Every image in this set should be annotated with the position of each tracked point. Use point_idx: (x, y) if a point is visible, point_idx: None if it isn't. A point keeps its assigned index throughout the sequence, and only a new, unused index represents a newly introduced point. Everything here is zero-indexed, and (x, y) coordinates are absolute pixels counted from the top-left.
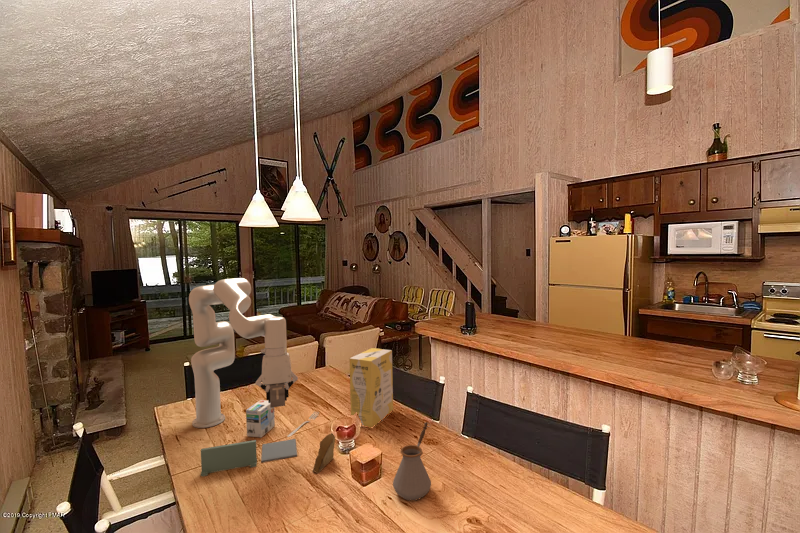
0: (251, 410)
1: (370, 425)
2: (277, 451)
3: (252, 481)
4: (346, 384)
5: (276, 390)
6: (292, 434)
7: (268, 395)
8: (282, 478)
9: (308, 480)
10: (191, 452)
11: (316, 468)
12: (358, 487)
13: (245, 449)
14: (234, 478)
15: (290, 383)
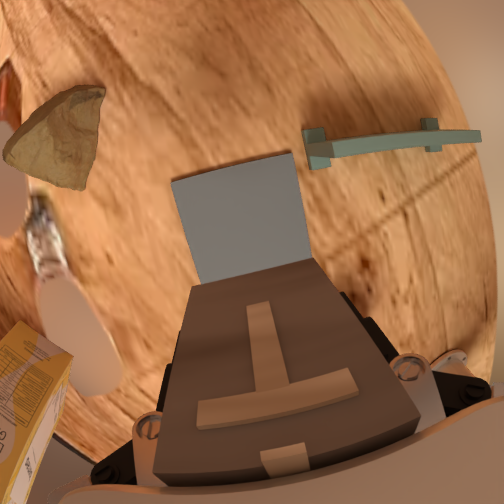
0: None
1: (20, 327)
2: (248, 210)
3: (288, 53)
4: None
5: (284, 376)
6: None
7: (370, 332)
8: (194, 56)
9: (115, 51)
10: (469, 246)
11: (90, 86)
12: (16, 51)
13: (359, 137)
14: (348, 80)
15: (118, 474)
